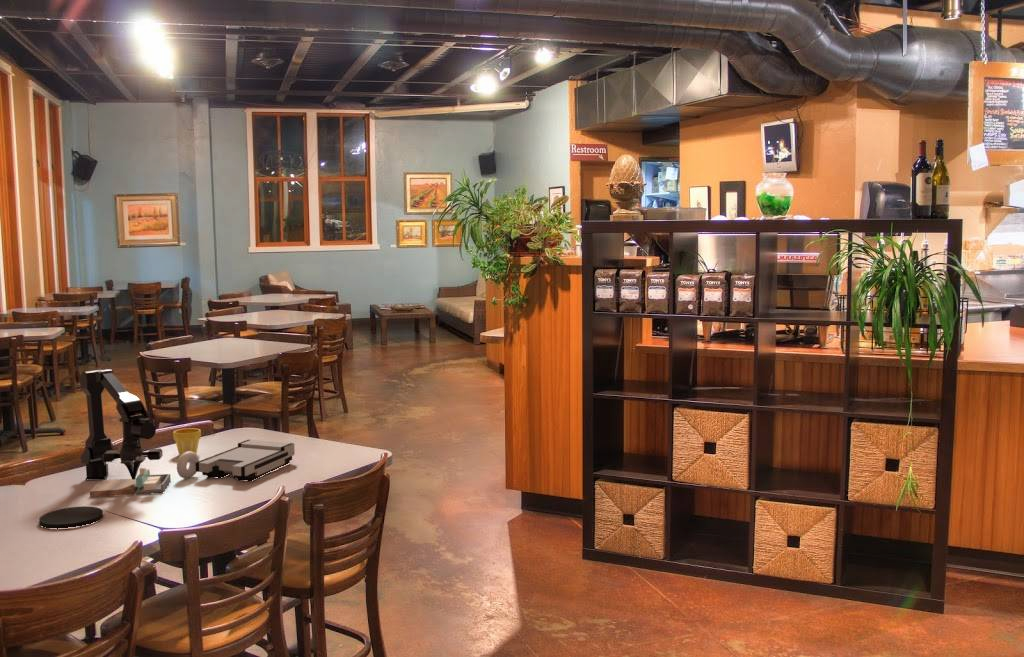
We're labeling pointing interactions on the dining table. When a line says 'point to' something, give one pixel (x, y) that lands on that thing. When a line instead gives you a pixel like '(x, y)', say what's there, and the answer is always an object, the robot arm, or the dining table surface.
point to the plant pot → (187, 439)
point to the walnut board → (114, 487)
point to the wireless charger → (71, 517)
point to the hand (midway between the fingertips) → (133, 479)
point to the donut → (182, 464)
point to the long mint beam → (142, 477)
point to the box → (161, 488)
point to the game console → (247, 460)
